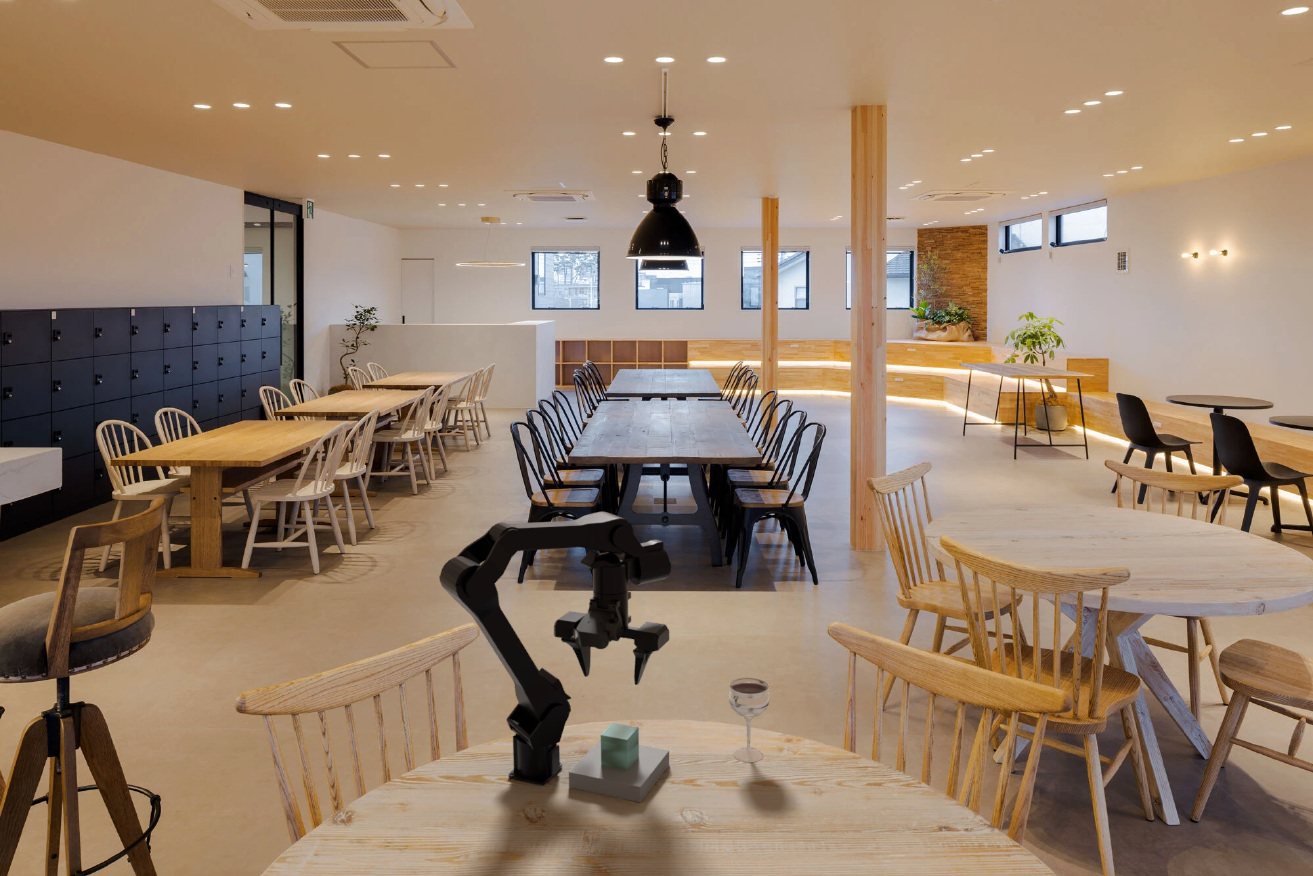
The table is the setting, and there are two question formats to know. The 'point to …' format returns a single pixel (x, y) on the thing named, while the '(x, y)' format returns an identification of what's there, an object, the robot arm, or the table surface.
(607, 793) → the plinth
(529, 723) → the robot arm
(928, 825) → the table surface
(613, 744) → the teal block
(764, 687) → the wineglass
